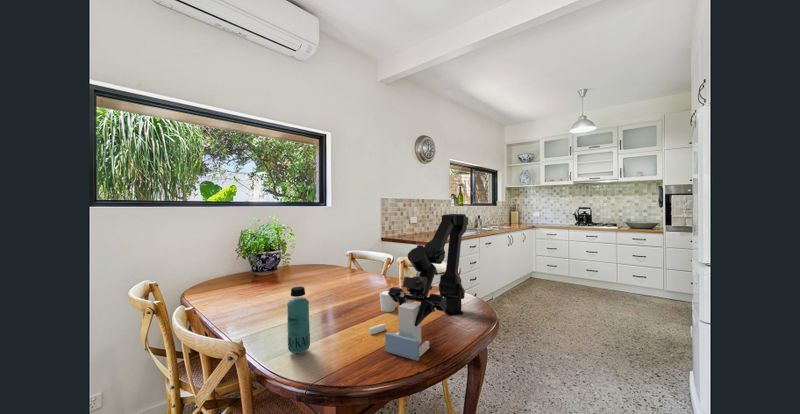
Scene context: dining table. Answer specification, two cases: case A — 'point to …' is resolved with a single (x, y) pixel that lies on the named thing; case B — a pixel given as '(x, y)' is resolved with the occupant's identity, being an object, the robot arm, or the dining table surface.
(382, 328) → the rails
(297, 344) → the beverage bottle
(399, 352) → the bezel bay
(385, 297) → the shot glass
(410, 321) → the plug block
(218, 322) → the dining table surface
